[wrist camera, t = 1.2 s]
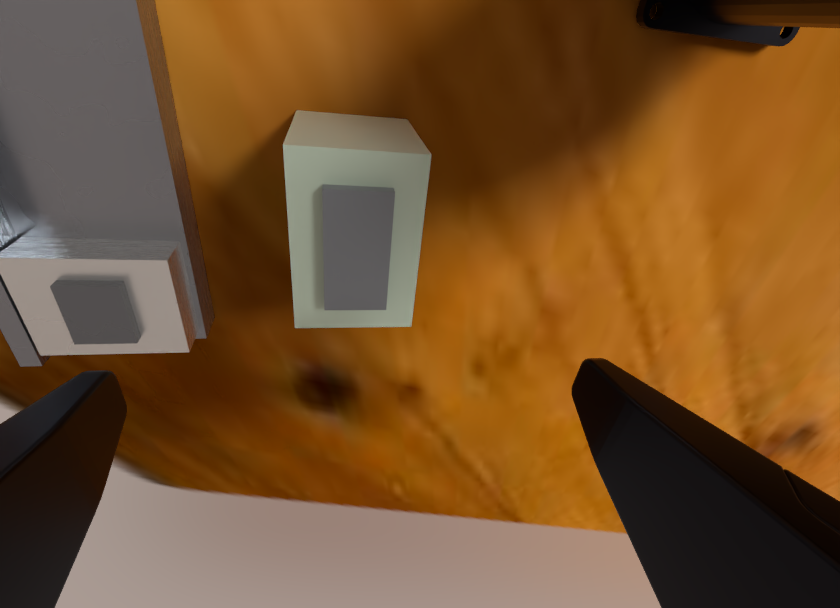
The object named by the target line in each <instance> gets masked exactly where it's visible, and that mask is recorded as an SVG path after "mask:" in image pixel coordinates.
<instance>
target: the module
mask: <svg viewBox="0 0 840 608" xmlns="http://www.w3.org/2000/svg"><path fill="white" fill-rule="evenodd" d="M283 156H284V171H285V186H286V201H287V217H288V232H289V247H290V262H291V277H292V292H293V308H294V323H295V328H345V327H411V325H412V316H413V308H414V299H415V291H416V282H417V274H418V265H419V257H420V249H421V240H422V232H423V223H424V215H425V206H426V198H427V189H428V181H429V172H430V164H431V153H430V152H429V150H428V149H427V147H426V146H425V144H424V143H423V141H422V140H421V138H420V137H419V136H418V134H417V133H416V131H415V130H414V128H413V127H412V125H411V124H410V122H409V121H408V119H398V118H386V117H374V116H362V115H350V114H338V113H326V112H314V111H302V110H296V113H295V115H294V118H293V120H292V123H291V125H290V128H289V130H288V133H287V135H286V138H285V140H284V143H283Z"/></svg>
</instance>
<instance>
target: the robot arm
mask: <svg viewBox="0 0 840 608" xmlns="http://www.w3.org/2000/svg"><path fill="white" fill-rule="evenodd" d="M654 4H656V7H657V11H656V14H655V15H654V17H653V18H652V19H651V17H650V10H651V8H652V6H653V5H654ZM636 18H637V22H638V24H639V25H640V26H641V27H643V28H648V29H655V30H662V31H669V32H676V33H683V34H690V35H698V36H705V37H712V38H719V39H726V40H733V41H740V42H748V43H755V44H762V45H769V46H784V45H786V44H788V43H789V42H790V41H791V40H792V39H793V38H794V37H795V35H796V34H797V32H798V30H799V28H800V27H822V28H840V0H640V3H639V6H638V9H637V14H636ZM783 26H784V30H783V32H782V33H781V35H780V31H781V29H782V27H783ZM572 397H573V401H574V404H575V407H576V409H577V412H578V415H579V418H580V421H581V424H582V427H583V430H584V433H585V436H586V439H587V442H588V445H589V447H590V450H591V453H592V456H593V458H594V461H595V463H596V466H597V468H598V470H599V473H600V475H601V477H602V479H603V481H604V484H605V486H606V488H607V490H608V492H609V495H610V497H611V499H612V501H613V503H614V505H615V508H616V510H617V512H618V514H619V516H620V518H621V521H622V523H623V525H624V527H625V529H626V532H627V534H628V536H629V538H630V540H631V542H632V545H633V547H634V549H635V551H636V553H637V555H638V558H639V560H640V562H641V564H642V566H643V569H644V571H645V573H646V575H647V577H648V579H649V582H650V584H651V586H652V588H653V590H654V592H655V594H656V597H657V599H658V601H659V603H660V606H661V608H840V501H838V500H836V499H835V498H833V497H831V496H830V495H828V494H826V493H825V492H823V491H821V490H820V489H818V488H816V487H814V486H813V485H811V484H809V483H808V482H806V481H805V480H803V479H801V478H800V477H798V476H796V475H795V474H793V473H792V472H790V471H788V470H786V469H784V470H783V468H782V467H781V466H780V465H778V464H777V463H775V462H773V461H772V460H770V459H768V458H767V457H765V456H763V455H762V454H760V453H759V452H757V451H755V450H754V449H752V448H750V447H749V446H747V445H745V444H744V443H742V442H740V441H739V440H737V439H736V438H734V437H732V436H731V435H729V434H727V433H726V432H724V431H722V430H721V429H719V428H718V427H716V426H714V425H713V424H711V423H709V422H708V421H706V420H704V419H703V418H701V417H699V416H698V415H696V414H695V413H693V412H691V411H690V410H688V409H686V408H685V407H683V406H681V405H680V404H678V403H676V402H675V401H673V400H672V399H670V398H668V397H667V396H665V395H663V394H662V393H660V392H658V391H657V390H655V389H654V388H652V387H650V386H649V385H647V384H645V383H644V382H642V381H640V380H639V379H637V378H636V377H634V376H632V375H631V374H629V373H627V372H626V371H624V370H622V369H621V368H619V367H617V366H616V365H614V364H613V363H611V362H609V361H608V360H606V359H603V358H589V359H585V360H584V361H583V362H582V364H581V366H580V368H579V371H578V373H577V376H576V378H575V380H574V383H573V386H572ZM126 412H127V407H126V402H125V399H124V397H123V394H122V391H121V389H120V386H119V383H118V381H117V378H116V376H115V374H114V373H113V372H111V371H86V372H82V373H81V374H79V375H77V376H75V377H74V378H72V379H71V380H69V381H68V382H66V383H64V384H63V385H61V386H60V387H58V388H56V389H55V390H53V391H52V392H50V393H49V394H47V395H45V396H44V397H42V398H41V399H39V400H37V401H36V402H34V403H33V404H31V405H30V406H28V407H26V408H25V409H23V410H22V411H20V412H19V413H17V414H15V415H14V416H12V417H11V418H9V419H7V420H6V421H4V422H3V423H1V424H0V608H55V605H56V603H57V601H58V598H59V596H60V594H61V592H62V589H63V587H64V584H65V582H66V580H67V577H68V575H69V573H70V571H71V568H72V566H73V563H74V561H75V559H76V557H77V554H78V552H79V550H80V547H81V545H82V542H83V540H84V538H85V536H86V533H87V531H88V528H89V526H90V524H91V522H92V519H93V517H94V515H95V512H96V509H97V507H98V505H99V502H100V500H101V497H102V494H103V491H104V488H105V485H106V481H107V478H108V475H109V471H110V468H111V465H112V461H113V458H114V455H115V451H116V448H117V445H118V441H119V438H120V435H121V431H122V428H123V424H124V421H125V418H126Z"/></svg>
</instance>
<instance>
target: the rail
mask: <svg viewBox="0 0 840 608" xmlns="http://www.w3.org/2000/svg"><path fill="white" fill-rule="evenodd" d="M214 318H215V317H214V312H213V306H212V301H211V296H210V291H209V285H208V280H207V275H206V269H205V264H204V259H203V254H202V248H201V243H200V238H199V233H198V227H197V222H196V217H195V211H194V206H193V201H192V196H191V190H190V185H189V180H188V175H187V169H186V164H185V159H184V153H183V148H182V143H181V138H180V132H179V127H178V122H177V117H176V111H175V106H174V101H173V95H172V90H171V85H170V80H169V74H168V69H167V64H166V59H165V53H164V48H163V43H162V37H161V32H160V27H159V22H158V16H157V11H156V6H155V1H154V0H0V329H1V331H2V333H3V335H4V337H5V339H6V341H7V342H8V344H9V346H10V348H11V350H12V352H13V354H14V356H15V358H16V359H17V361H18V363H19V365H20V367H24V366H43V365H44V363H45V362H46V361H47V360H48V359H49V357H50V356H51V355H89V354H135V353H180V352H190V350H191V347H192V345H193V343H194V340H195V339H200V338H207V336H208V333H209V331H210V328H211V326H212V323H213V321H214Z"/></svg>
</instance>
